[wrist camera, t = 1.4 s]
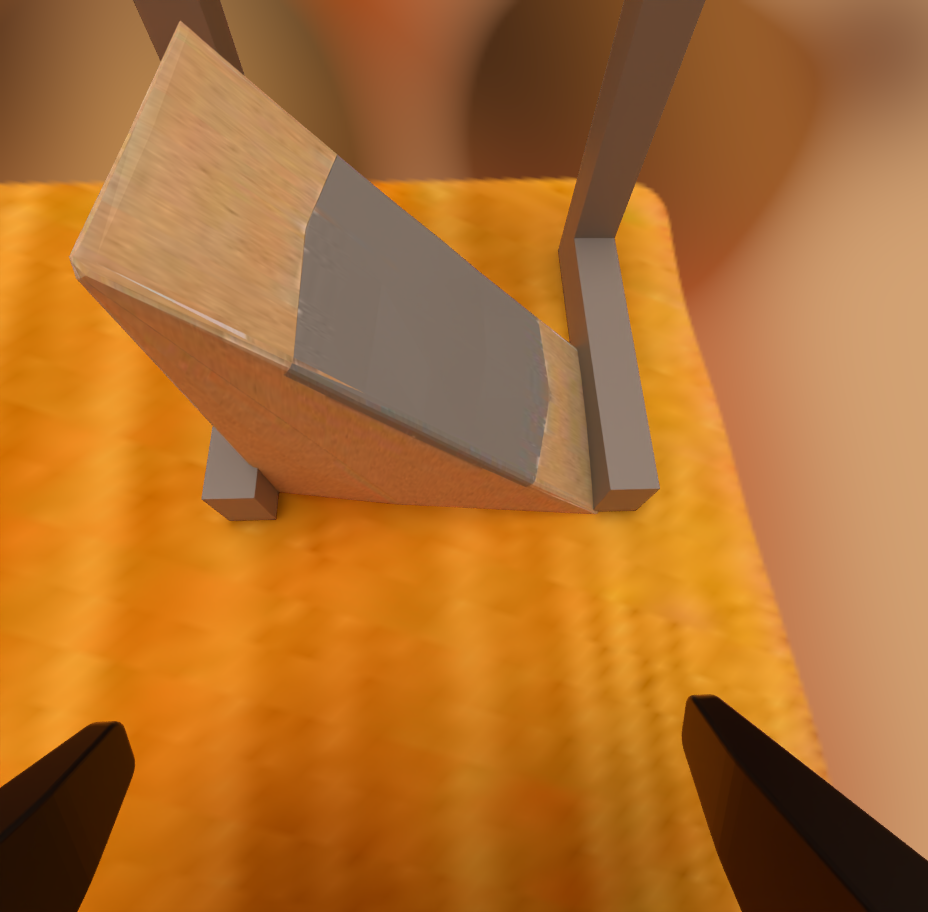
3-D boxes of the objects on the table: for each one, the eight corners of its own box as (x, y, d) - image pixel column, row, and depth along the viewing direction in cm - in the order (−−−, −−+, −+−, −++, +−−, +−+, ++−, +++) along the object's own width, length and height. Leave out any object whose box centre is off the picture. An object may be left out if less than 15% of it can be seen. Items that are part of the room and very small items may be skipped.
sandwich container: (608, 523, 25) (812, 325, 11) (271, 499, 25) (55, 269, 11) (602, 362, 28) (753, 54, 14) (304, 340, 28) (169, 8, 14)
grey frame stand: (635, 510, 25) (1099, 91, 7) (229, 520, 24) (-354, 76, 6) (593, 250, 31) (796, -335, 13) (264, 251, 30) (6, -372, 12)
